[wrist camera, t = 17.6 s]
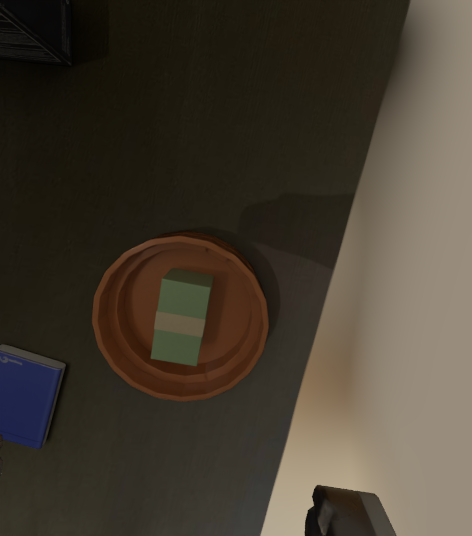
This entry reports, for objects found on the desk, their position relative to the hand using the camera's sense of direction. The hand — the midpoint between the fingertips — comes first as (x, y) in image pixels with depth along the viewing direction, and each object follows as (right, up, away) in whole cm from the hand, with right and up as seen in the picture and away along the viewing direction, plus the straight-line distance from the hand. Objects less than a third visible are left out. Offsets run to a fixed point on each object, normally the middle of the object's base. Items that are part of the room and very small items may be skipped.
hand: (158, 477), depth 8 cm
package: (-4, +1, +28) cm, 29 cm away
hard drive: (-25, -11, +32) cm, 42 cm away
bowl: (-4, +1, +29) cm, 29 cm away
